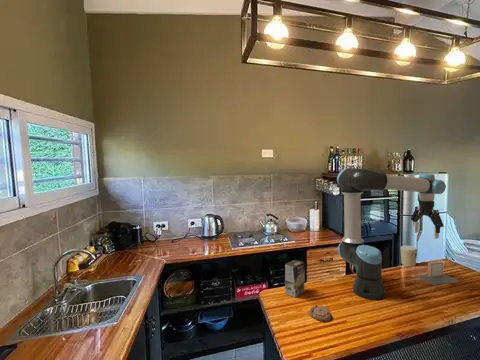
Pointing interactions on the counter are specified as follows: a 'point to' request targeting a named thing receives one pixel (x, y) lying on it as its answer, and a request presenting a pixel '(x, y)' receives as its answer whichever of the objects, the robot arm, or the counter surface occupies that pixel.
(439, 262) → the tile
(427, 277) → the slate board
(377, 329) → the counter surface
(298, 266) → the coffee box
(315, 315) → the cookie
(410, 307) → the counter surface
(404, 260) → the coffee cup
